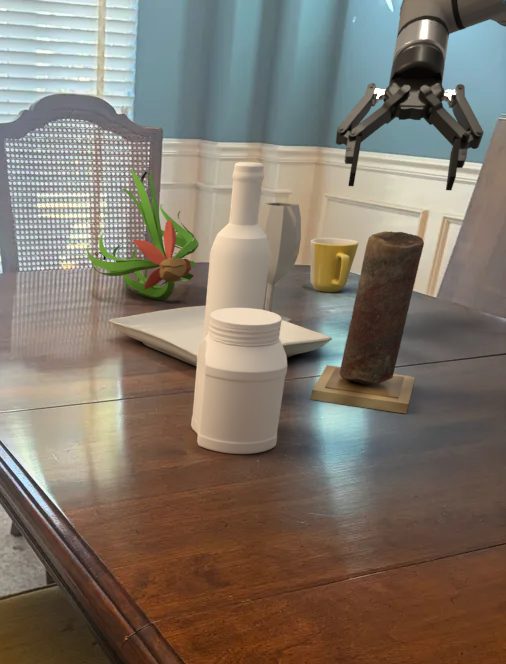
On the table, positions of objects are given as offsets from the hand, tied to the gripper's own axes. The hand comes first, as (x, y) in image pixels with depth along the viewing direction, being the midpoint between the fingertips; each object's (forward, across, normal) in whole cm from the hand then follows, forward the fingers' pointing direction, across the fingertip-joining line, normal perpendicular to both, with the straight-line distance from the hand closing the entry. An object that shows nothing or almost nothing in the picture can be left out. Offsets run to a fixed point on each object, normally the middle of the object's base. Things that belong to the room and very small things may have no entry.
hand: (400, 181), depth 111 cm
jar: (+46, +16, +8) cm, 50 cm away
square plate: (+18, +25, -20) cm, 37 cm away
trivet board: (+30, 0, -9) cm, 31 cm away
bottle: (+35, +19, -3) cm, 40 cm away
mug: (-20, +9, -58) cm, 62 cm away
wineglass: (+4, +18, -34) cm, 39 cm away
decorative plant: (-7, +45, -45) cm, 64 cm away
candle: (+28, 0, -8) cm, 29 cm away
